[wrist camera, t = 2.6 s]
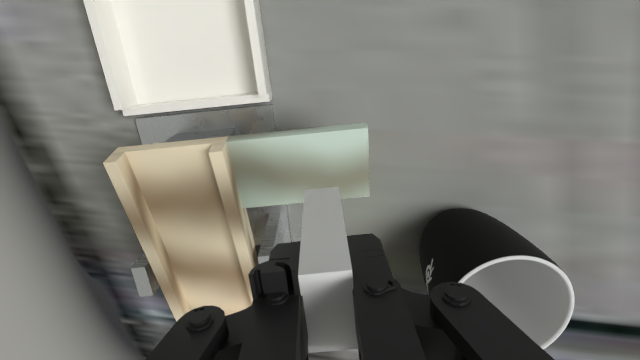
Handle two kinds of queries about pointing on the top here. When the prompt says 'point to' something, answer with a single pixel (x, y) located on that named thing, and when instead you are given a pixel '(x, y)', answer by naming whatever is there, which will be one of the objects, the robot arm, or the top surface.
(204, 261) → the wooden ramp
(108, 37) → the dish
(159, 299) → the top surface
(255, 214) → the stand
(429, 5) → the top surface
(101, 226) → the top surface
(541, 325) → the mug
